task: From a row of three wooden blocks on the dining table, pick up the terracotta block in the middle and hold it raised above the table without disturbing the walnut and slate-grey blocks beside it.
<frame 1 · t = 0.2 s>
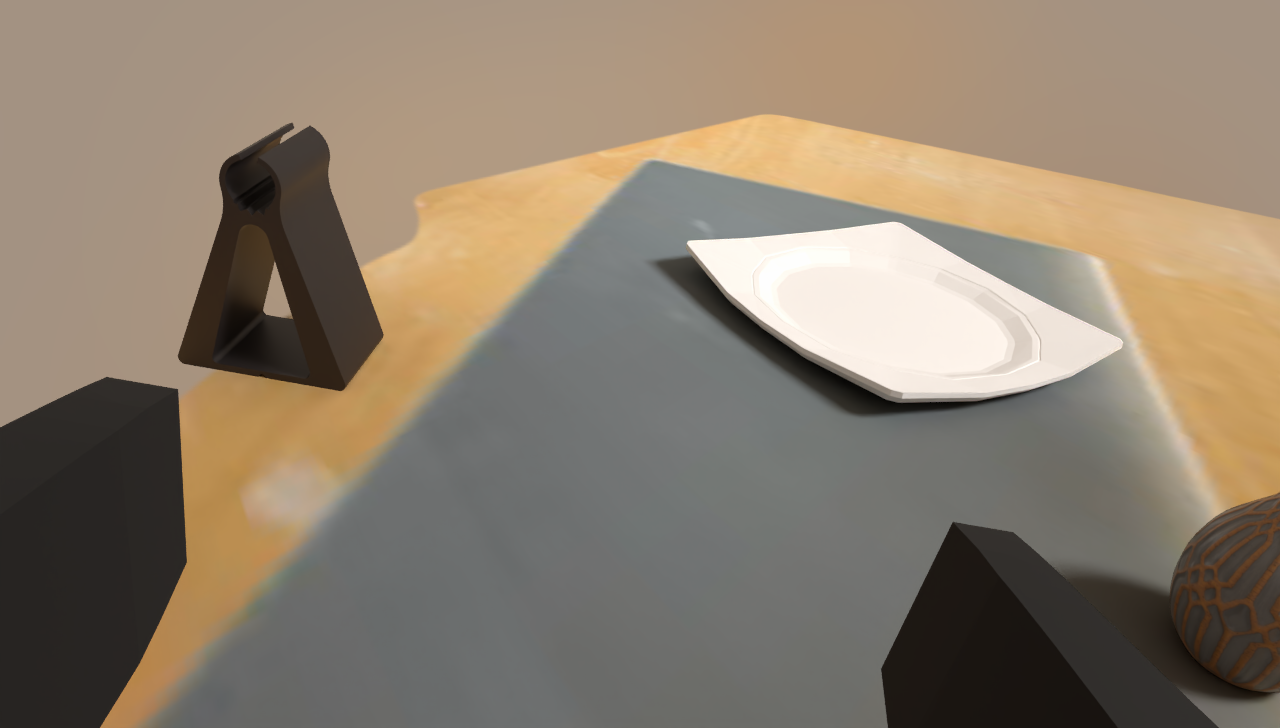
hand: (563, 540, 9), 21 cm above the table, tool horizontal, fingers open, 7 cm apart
vase: (1228, 659, 41), on the table
plate: (886, 325, 68), on the table
phone stand: (286, 354, 52), on the table
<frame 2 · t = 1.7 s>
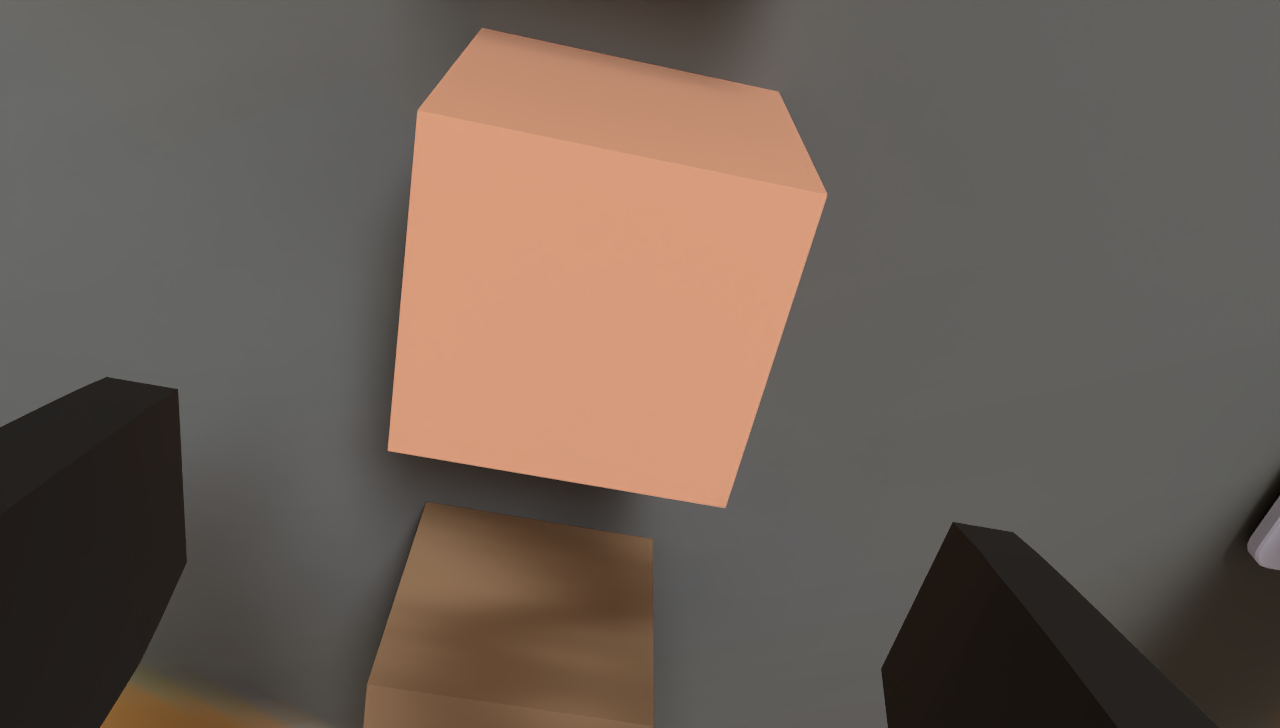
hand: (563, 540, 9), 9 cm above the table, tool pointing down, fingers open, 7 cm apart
walnut block: (525, 600, 22), on the table
terracotta block: (604, 199, 17), on the table
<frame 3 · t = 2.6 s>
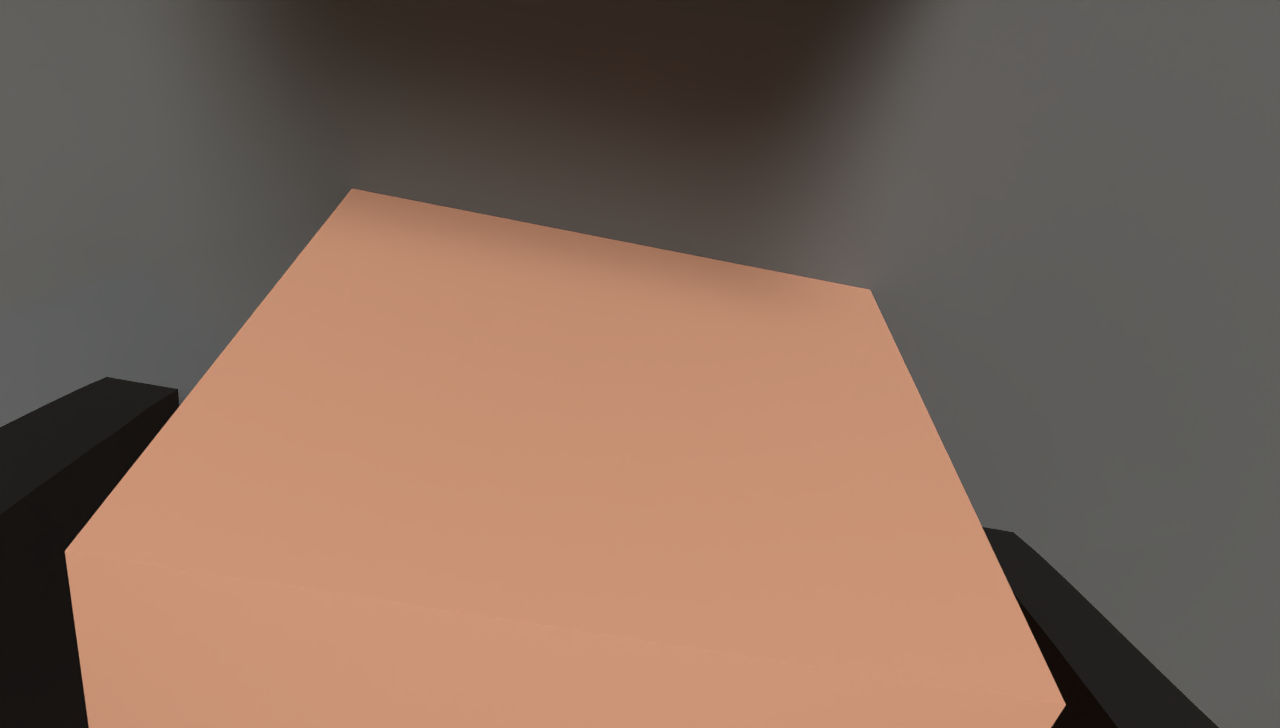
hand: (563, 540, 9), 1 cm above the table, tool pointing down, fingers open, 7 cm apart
terracotta block: (574, 446, 10), on the table
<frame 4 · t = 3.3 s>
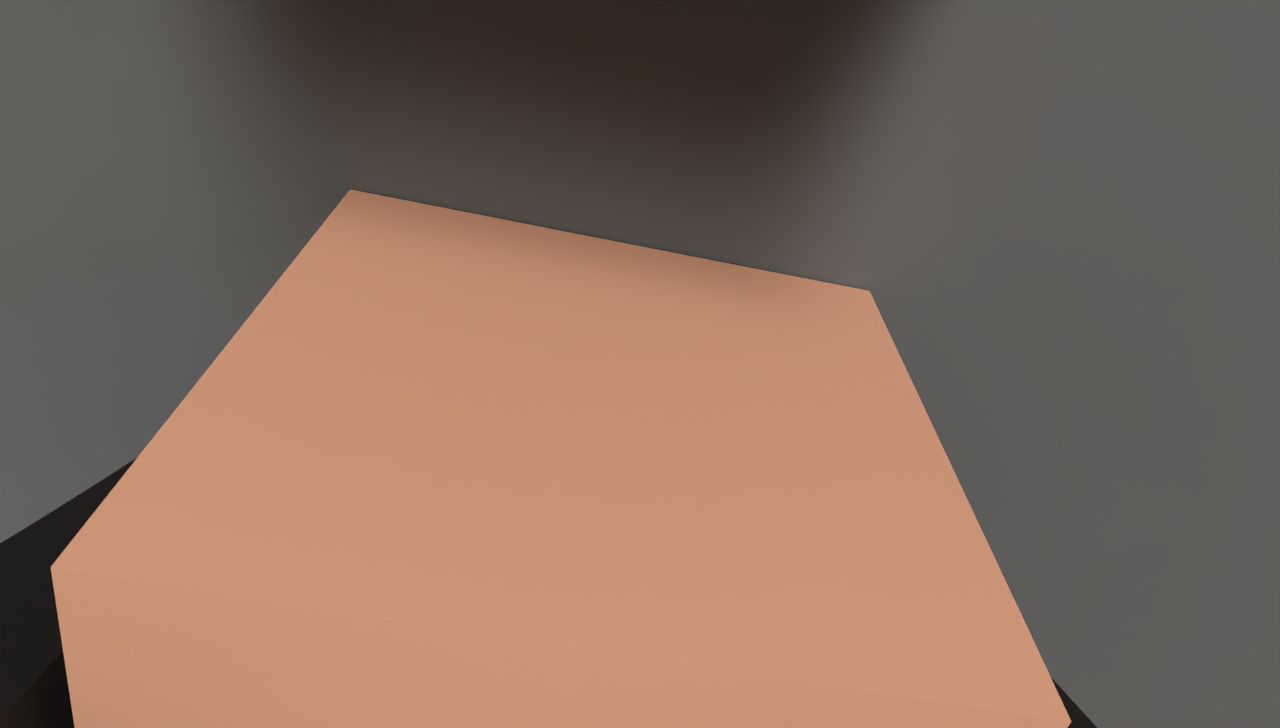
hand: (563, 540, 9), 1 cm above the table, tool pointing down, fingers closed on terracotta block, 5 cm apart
terracotta block: (572, 452, 10), on the table, touching gripper
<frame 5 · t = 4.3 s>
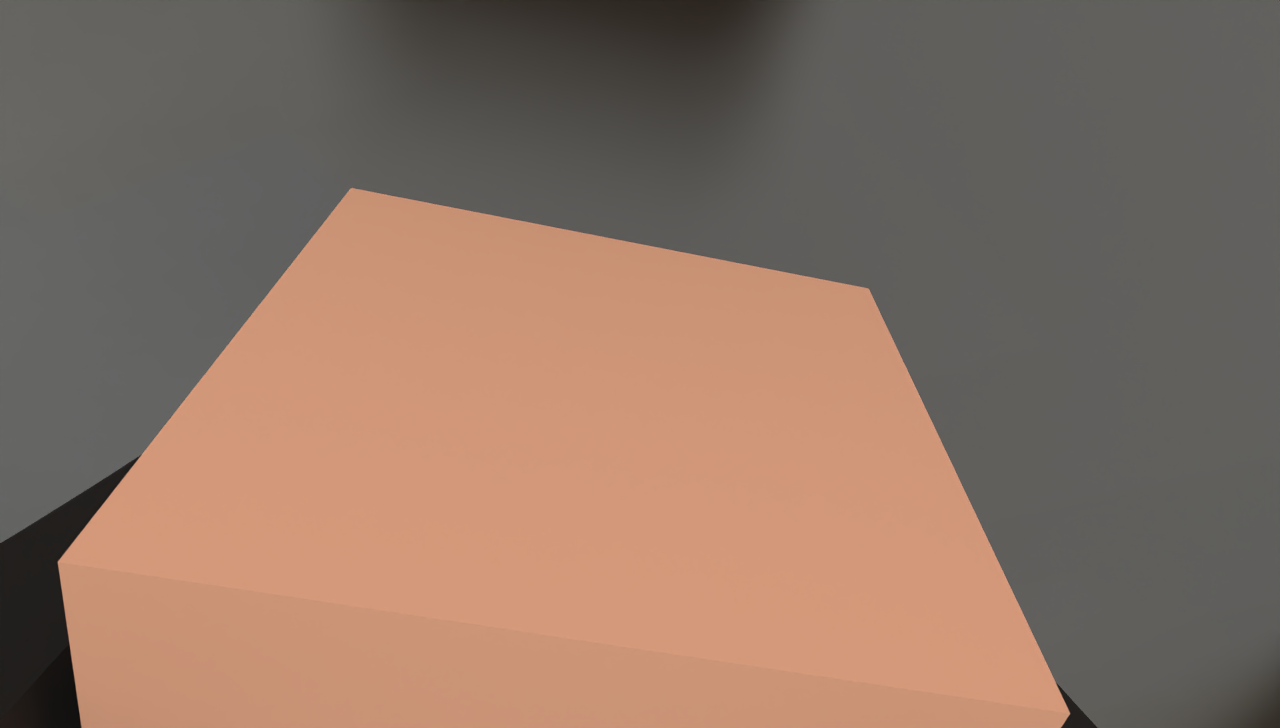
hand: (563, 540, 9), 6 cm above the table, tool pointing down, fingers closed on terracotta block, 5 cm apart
terracotta block: (572, 449, 10), point 4 cm above the table, touching gripper
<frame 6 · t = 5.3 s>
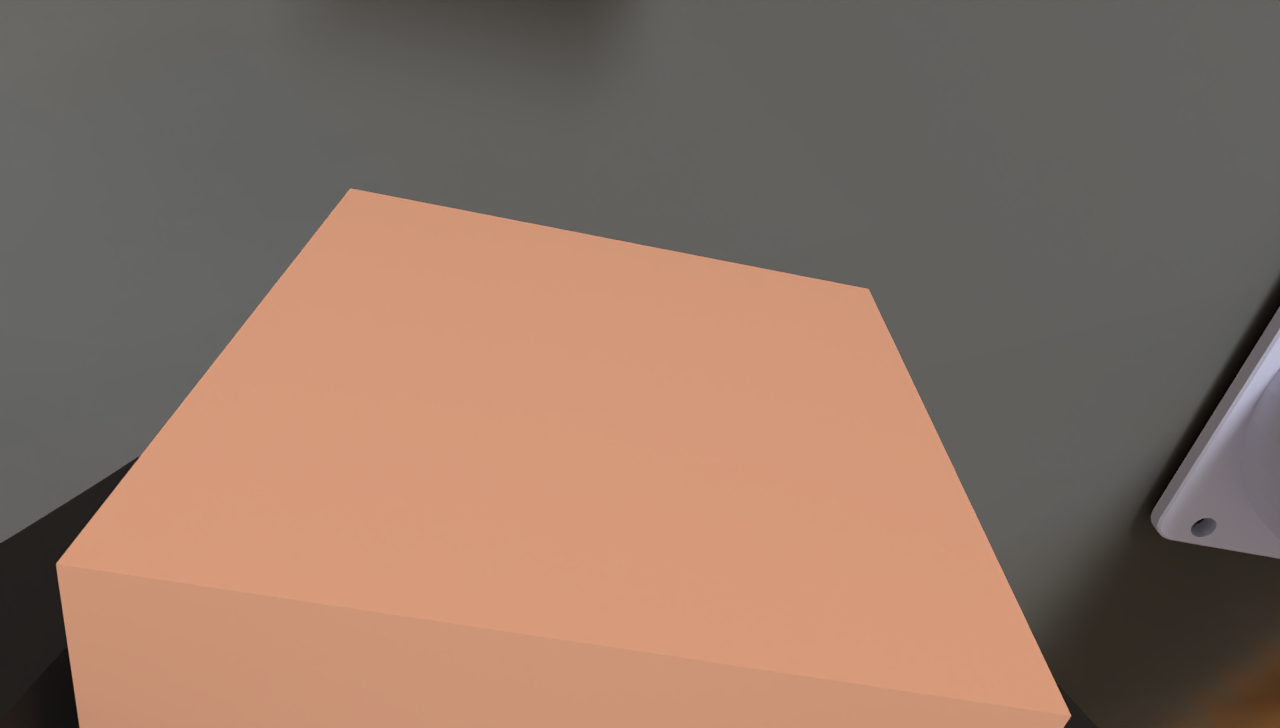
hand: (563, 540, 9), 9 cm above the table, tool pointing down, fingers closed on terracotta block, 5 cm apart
terracotta block: (572, 450, 10), point 8 cm above the table, touching gripper
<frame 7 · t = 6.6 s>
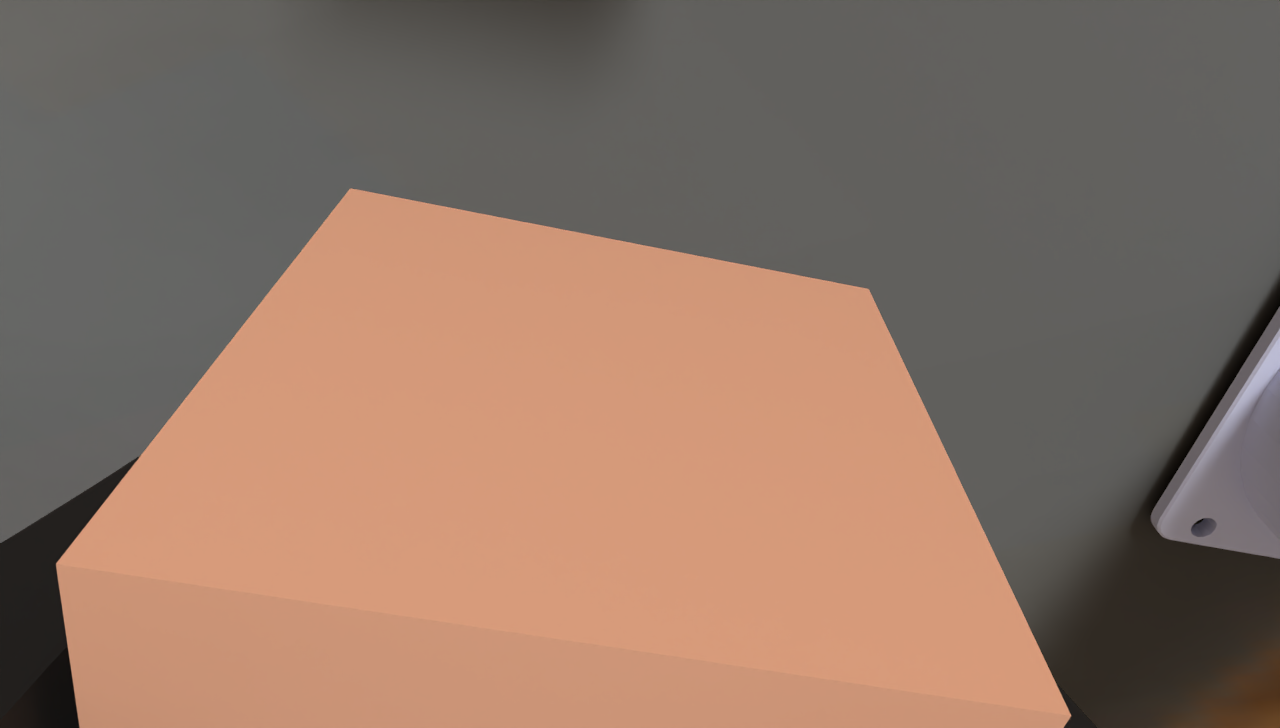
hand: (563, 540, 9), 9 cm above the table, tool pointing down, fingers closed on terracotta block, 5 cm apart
terracotta block: (572, 450, 10), point 8 cm above the table, touching gripper
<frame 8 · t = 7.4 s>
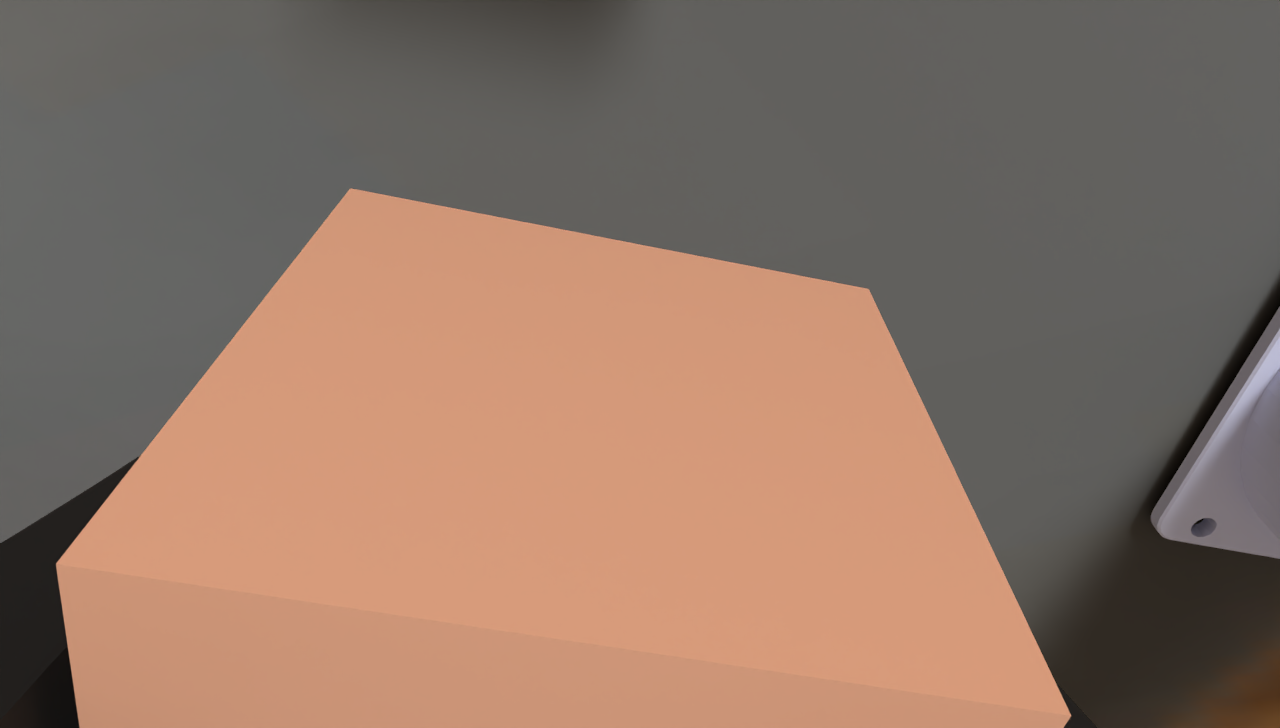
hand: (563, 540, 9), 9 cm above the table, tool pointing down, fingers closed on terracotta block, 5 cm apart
terracotta block: (572, 450, 10), point 8 cm above the table, touching gripper
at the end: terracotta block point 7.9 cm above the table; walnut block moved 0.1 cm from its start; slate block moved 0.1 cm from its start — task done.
